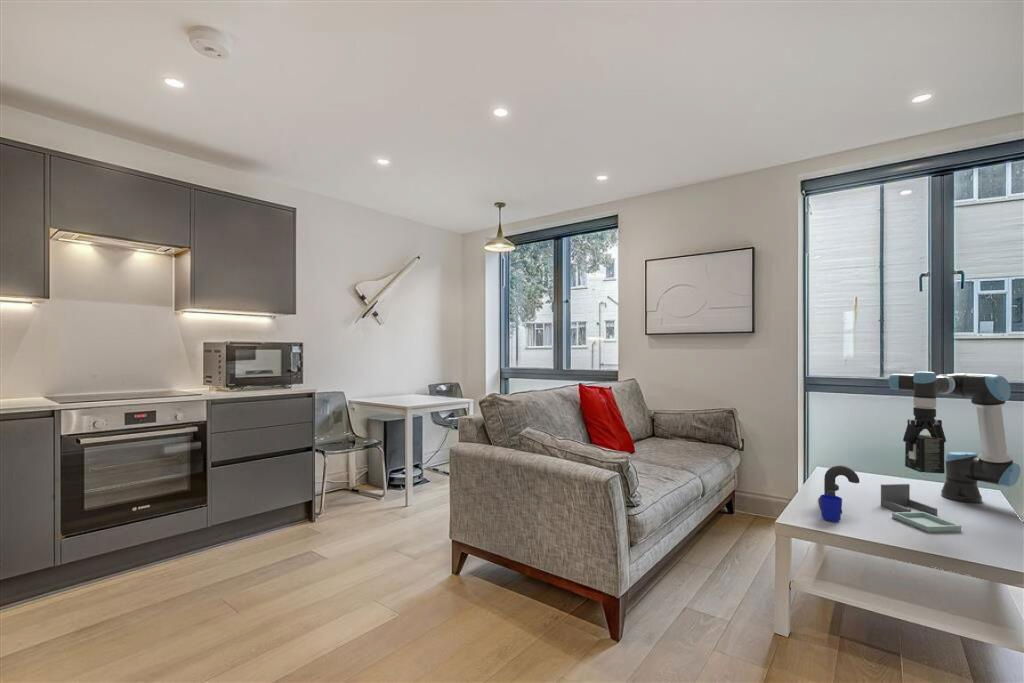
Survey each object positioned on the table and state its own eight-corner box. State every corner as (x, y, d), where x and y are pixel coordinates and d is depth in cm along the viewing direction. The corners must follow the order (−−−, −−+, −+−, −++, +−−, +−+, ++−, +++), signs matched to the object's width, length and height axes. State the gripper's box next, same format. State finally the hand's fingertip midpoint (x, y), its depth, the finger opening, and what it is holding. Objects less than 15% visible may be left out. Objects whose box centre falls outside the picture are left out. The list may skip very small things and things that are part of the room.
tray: (923, 517, 218) (923, 511, 218) (961, 531, 201) (961, 525, 201) (892, 517, 217) (892, 512, 217) (927, 532, 200) (927, 526, 200)
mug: (836, 515, 220) (836, 493, 220) (844, 524, 209) (844, 501, 209) (815, 512, 223) (815, 491, 223) (822, 522, 212) (822, 499, 212)
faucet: (862, 516, 218) (862, 472, 219) (820, 510, 226) (820, 467, 226) (857, 505, 234) (857, 463, 234) (818, 499, 242) (818, 459, 242)
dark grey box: (945, 474, 204) (945, 439, 204) (919, 472, 206) (920, 438, 206) (928, 467, 214) (928, 434, 215) (904, 466, 216) (904, 433, 216)
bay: (907, 504, 235) (907, 483, 235) (937, 515, 220) (937, 493, 220) (880, 505, 234) (880, 484, 234) (908, 516, 219) (908, 494, 219)
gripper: (940, 406, 215) (940, 456, 215) (892, 406, 213) (892, 456, 213) (957, 408, 207) (957, 460, 207) (907, 408, 205) (907, 461, 205)
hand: (924, 458), depth 210 cm, fingers closed on dark grey box, 10 cm apart
